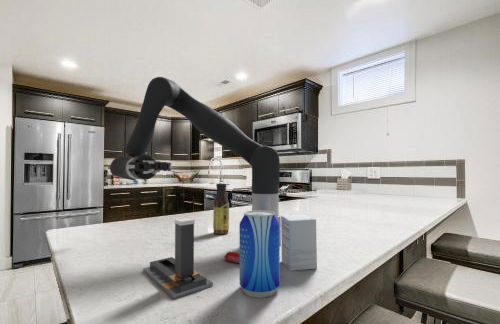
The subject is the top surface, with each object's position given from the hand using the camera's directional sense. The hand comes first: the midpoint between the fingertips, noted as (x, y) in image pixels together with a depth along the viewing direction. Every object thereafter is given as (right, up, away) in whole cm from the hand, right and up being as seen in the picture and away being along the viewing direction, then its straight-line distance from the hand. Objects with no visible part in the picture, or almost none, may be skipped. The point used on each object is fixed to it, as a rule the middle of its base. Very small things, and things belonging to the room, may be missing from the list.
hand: (162, 165), depth 69 cm
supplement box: (+36, -26, -1) cm, 45 cm away
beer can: (+25, -26, -15) cm, 39 cm away
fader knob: (+9, -25, -13) cm, 29 cm away
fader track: (+6, -26, -9) cm, 28 cm away
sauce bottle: (+12, -28, +34) cm, 46 cm away
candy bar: (+24, -27, 0) cm, 36 cm away
